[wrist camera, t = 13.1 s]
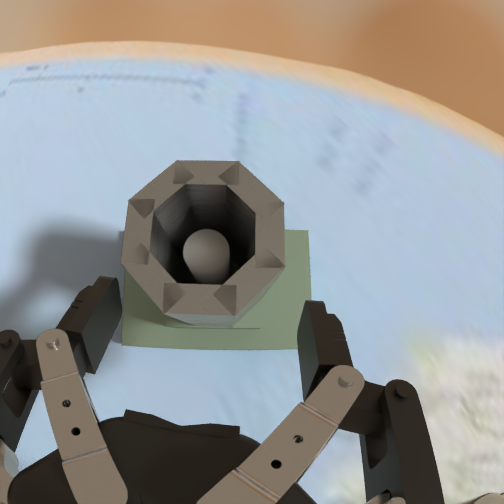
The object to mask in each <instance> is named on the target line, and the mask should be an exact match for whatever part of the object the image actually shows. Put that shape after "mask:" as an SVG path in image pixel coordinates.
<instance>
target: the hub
mask: <svg viewBox="0 0 504 504" xmlns="http://www.w3.org/2000/svg"><path fill="white" fill-rule="evenodd" d="M128 201H129V203H128V209H127V216H126V223H125V231H124V239H123V247H122V256H121V261H120V262H121V264H122V265H123V266H124V267H125V268H126V269H127V271H128V272H129V273H130V274H131V275H132V277H133V278H134V279H135V280H136V282H137V283H138V284H139V285H140V286H141V287H142V289H143V290H144V291H145V292H146V293H147V295H148V296H149V297H150V298H151V299H152V300H153V302H154V303H155V304H156V305H157V306H158V307H159V308H160V310H161V311H162V312H163V314H166V315H168V316H171V317H173V318H176V319H178V320H181V321H183V322H186V323H188V324H191V325H194V326H211V327H234V325H235V324H236V323H238V322H239V321H240V320H241V319H242V318H243V317H244V316H245V315H246V314H247V313H248V312H249V311H250V310H251V309H252V308H253V307H254V306H255V305H256V304H257V303H258V302H260V301H261V299H262V298H263V297H264V295H265V294H266V293H267V291H268V290H269V289H270V288H271V286H272V285H273V284H274V282H275V281H276V280H277V278H278V277H279V276H280V274H281V273H282V272H283V270H284V269H285V267H286V266H285V230H284V202H282V201H281V200H280V199H279V198H278V197H277V196H276V195H275V194H274V193H273V192H272V191H270V190H269V189H268V188H267V187H266V186H265V185H264V184H263V183H262V182H261V181H260V180H259V179H257V178H256V177H255V176H254V175H253V174H252V173H251V172H250V171H249V170H248V169H246V168H245V167H244V166H243V165H242V164H241V163H240V161H178V160H177V161H176V162H174V163H173V164H172V165H171V166H169V167H168V168H167V169H166V170H164V171H163V172H162V173H161V174H159V175H158V176H157V177H156V178H155V179H153V180H152V181H151V182H150V183H148V184H147V185H146V186H145V187H144V188H143V189H141V190H140V191H139V192H138V193H137V194H135V195H134V196H133V197H132V198H131V199H129V200H128ZM203 229H211V230H215V231H217V232H219V233H220V234H222V235H223V236H224V237H225V239H226V240H227V242H228V245H229V251H230V258H231V259H232V260H233V261H234V262H235V263H236V264H237V265H238V266H239V267H240V269H239V270H238V271H237V272H236V273H235V274H234V275H233V276H232V277H231V278H229V279H228V280H227V281H226V282H225V283H224V284H223V285H210V284H187V275H188V270H189V267H188V266H187V264H186V262H185V260H184V256H183V248H184V245H185V242H186V240H187V239H188V238H189V237H190V236H191V235H192V234H193V233H195V232H197V231H199V230H203Z"/></svg>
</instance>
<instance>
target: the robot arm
mask: <svg viewBox="0 0 504 504" xmlns="http://www.w3.org/2000/svg"><path fill="white" fill-rule="evenodd" d="M121 314H122V303H121V297H120V290H119V283H118V280H117V278H112V277H105V276H100V277H99V278H98V279H97V281H96V282H95V284H94V285H93V286H87V287H86V288H84V289H83V290H82V291H80V292H79V294H78V295H77V297H76V298H75V301H73V303H72V304H71V306H70V307H69V309H68V310H67V312H66V313H65V315H64V316H63V318H62V319H61V321H60V322H59V324H58V325H57V327H56V329H50V330H47V331H45V332H43V333H42V334H41V335H40V336H39V337H38V339H37V340H21V339H20V337H19V334H18V333H17V332H16V331H14V330H4V331H2V332H0V504H317V503H316V502H315V501H314V500H313V499H312V498H311V497H310V496H309V495H308V494H307V493H306V492H305V491H304V490H303V489H302V488H301V486H300V485H299V484H298V482H299V480H300V479H301V478H302V477H303V475H304V474H305V473H306V472H307V470H308V469H309V468H310V466H311V465H312V464H313V462H314V461H315V460H316V458H317V457H318V456H319V454H320V453H321V452H322V450H323V449H324V448H325V446H326V445H327V444H328V442H329V441H330V440H331V438H332V437H333V435H334V434H335V432H336V431H337V430H338V429H342V430H346V431H350V432H354V433H358V434H359V437H360V445H361V453H362V462H363V471H364V481H365V491H366V503H365V504H445V503H444V498H443V493H442V488H441V483H440V478H439V474H438V469H437V465H436V460H435V456H434V452H433V448H432V444H431V440H430V436H429V432H428V429H427V425H426V421H425V418H424V414H423V411H422V407H421V404H420V400H419V397H418V394H417V391H416V389H415V388H414V387H413V386H412V385H411V384H410V383H408V382H407V381H404V380H399V379H396V380H392V381H390V382H388V383H387V385H386V386H382V385H378V384H374V383H370V382H368V381H365V380H364V378H363V376H362V374H361V373H360V372H359V371H358V370H357V369H355V368H354V367H353V364H352V360H351V356H350V352H349V349H348V345H347V341H346V338H345V334H344V330H343V327H342V323H341V322H340V320H339V319H338V318H337V317H336V316H335V314H327V312H326V308H325V304H324V302H323V301H312V300H306V301H305V303H304V307H303V311H302V314H301V318H300V322H299V326H298V331H297V345H298V354H299V363H300V372H301V381H302V390H303V400H304V403H302V402H300V403H299V404H298V405H297V406H296V407H295V408H294V409H293V410H292V412H291V413H290V414H289V415H288V416H287V417H286V418H285V419H284V420H283V422H282V423H281V424H280V425H279V426H278V427H277V428H276V429H275V430H274V431H273V432H272V433H271V434H270V436H269V437H268V438H267V439H266V440H265V441H264V442H263V443H262V444H260V443H259V442H257V441H255V440H254V439H252V438H249V437H247V436H245V435H242V434H239V433H240V426H231V425H220V424H211V423H210V424H200V425H187V426H180V425H176V424H174V423H171V422H169V421H166V420H164V419H162V418H159V417H157V416H154V415H152V414H146V413H141V412H136V411H132V410H127V409H126V410H125V414H124V417H115V418H110V419H106V420H104V421H101V422H100V420H99V417H98V415H97V413H96V410H95V408H94V405H93V403H92V400H91V398H90V395H89V392H88V390H87V387H86V384H85V381H84V379H83V377H84V375H85V373H86V372H88V373H92V374H95V373H96V371H97V369H98V366H99V364H100V362H101V360H102V357H103V355H104V353H105V351H106V349H107V346H108V344H109V342H110V340H111V338H112V336H113V333H114V331H115V329H116V327H117V325H118V323H119V321H120V318H121ZM9 379H10V380H9ZM8 380H9V382H8ZM7 382H8V384H7ZM6 384H7V386H6ZM5 386H6V388H5ZM4 388H5V390H4ZM39 390H42V392H43V396H44V400H45V404H46V408H47V412H48V416H49V419H50V423H51V426H52V430H53V433H54V436H55V439H56V443H57V446H58V449H56V450H55V451H53V452H52V453H50V454H48V455H47V456H45V457H43V458H42V459H40V460H39V461H37V462H35V463H34V464H32V465H30V466H29V467H27V468H25V469H24V470H22V471H21V472H19V470H18V459H17V456H16V455H15V451H16V448H17V445H18V442H19V440H20V437H21V434H22V432H23V429H24V426H25V424H26V421H27V419H28V416H29V414H30V411H31V409H32V406H33V404H34V402H35V399H36V397H37V394H38V392H39ZM3 391H4V392H3ZM473 504H504V494H502V495H500V494H498V493H490V494H487V495H485V496H483V497H481V498H480V499H478V500H477V501H476V502H474V503H473Z"/></svg>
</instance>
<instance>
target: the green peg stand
mask: <svg viewBox="0 0 504 504" xmlns="http://www.w3.org/2000/svg"><path fill="white" fill-rule="evenodd" d="M183 256H184V260H185V262H186V264H187V266H188V267H189V270H188V275H187V284H210V285H223V284H224V283H225V282H226V281H227V280H228V279H229V278H231V277H232V276H233V275H234V274H235V273H236V272H237V271H238V270H239V269H240V267H239V266H238V265H237V264H236V263H235V262H234V261H233V260H232V259H231V258H230V251H229V245H228V242H227V240H226V239H225V237H224V236H223V235H222V234H220V233H219V232H217V231H215V230H211V229H203V230H199V231H197V232H195V233H193V234H192V235H191V236H190V237H189V238H188V239H187V240H186V242H185V245H184V248H183ZM285 266H286V267H285V269H284V270H283V272H282V273H281V274H280V276H279V277H278V278H277V280H276V281H275V282H274V284H273V285H272V286H271V288H270V289H269V290H268V291H267V293H266V294H265V295H264V297H263V298H262V299H261V301H260V302H258V303H257V304H256V305H255V306H254V307H253V308H252V309H251V310H250V311H249V312H248V313H247V314H246V315H245V316H244V317H243V318H242V319H241V320H240V321H239V322H238V323H236V324H235V325H234V327H211V326H194V325H191V324H188V323H186V322H183V321H181V320H178V319H176V318H173V317H171V316H168V315H166V314H163V312H162V311H161V310H160V308H159V307H158V306H157V305H156V304H155V303H154V302H153V300H152V299H151V298H150V297H149V296H148V295H147V293H146V292H145V291H144V290H143V289H142V287H141V286H140V285H139V284H138V283H137V282H136V280H135V279H134V278H133V277H132V275H131V274H130V273H129V272H128V271H127V269H126V268H125V279H124V295H123V317H122V345H125V346H138V347H153V348H172V349H199V350H282V349H298V345H297V331H298V326H299V322H300V318H301V314H302V311H303V307H304V303H305V301H306V300H311V278H310V256H309V238H308V230H285Z"/></svg>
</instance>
